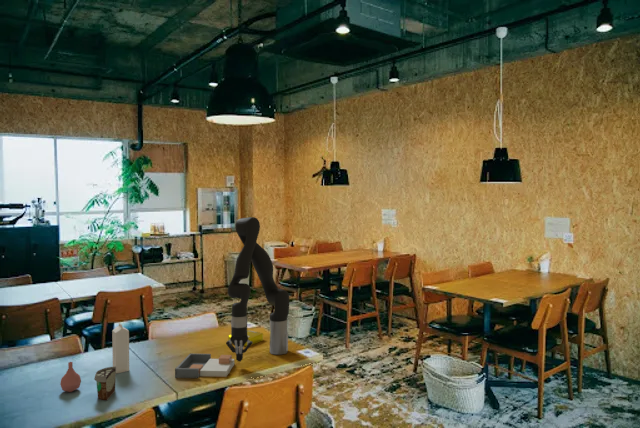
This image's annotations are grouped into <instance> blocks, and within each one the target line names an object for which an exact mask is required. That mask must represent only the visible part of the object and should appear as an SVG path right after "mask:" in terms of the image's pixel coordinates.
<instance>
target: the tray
mask: <svg viewBox="0 0 640 428" xmlns="http://www.w3.org/2000/svg"><path fill="white" fill-rule="evenodd" d="M211 356H212V355H211V353H191V352H190V353H189V354H188V355H187V356H186V357H185V358H184V359H183V360H182V361H181V362H180V363H179V364H178V365H177V366H176V367H175V369H174V378H175V379H177V378H178V379H199V377H201V376H200V374H199V369H195V368H190V367H191V365H192V364H201V365H203V367H204V365H205V364H206V363H207V362H208V360H209V359H212V357H211Z"/></svg>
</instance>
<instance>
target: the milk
mask: <svg viewBox="0 0 640 428" xmlns="http://www.w3.org/2000/svg"><path fill="white" fill-rule="evenodd" d="M111 332H112V333H111V334H112V338H111V339H112V341H111V342H112V344H111V345H112V347H111V348H112V367H116V374H120V373H124V372H129V371H130V331H129V329H127V328H126V327H124V326H123V324H122V323H120V322H118V325H117V326H116V327H115V328H113V329H112V331H111Z"/></svg>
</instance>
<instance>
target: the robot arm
mask: <svg viewBox="0 0 640 428" xmlns="http://www.w3.org/2000/svg"><path fill="white" fill-rule="evenodd" d="M234 227H235V231H236V234H237V235H238V238H239V239H240V241H241V243H242V245H243V246H242V248H241V251H239V254H238V256H237V257H236V260H235V266H234V273H233V276H232V277H231V280H230V283H229V284H228V288H227V295H228V296H229V297H230V298H232V299H240V301H238V302H234V303H232V305H231V321H230V322H231V323H230V329H231V330H230V332H231V333H230V334H231V338H230V340H229V341H228V340H226V342H225V344H226V346H227V348H229V350H230V351H231V352H232V353H235V358H236V359H235V361H237V362H238V363H239V362H242V360H243V357H244V355H243V354H244V353H246V352H247V351H248V350H249V349H250V347H251V346H253V345H252V343H253V342H252V341H250V340H249V339H248V336H247V330H248V315H247V314H248V311H247V310H248V309H247V308H248V304H249V303H248V302H249V299H250V296H251V290H252V289H251V287H250V285H249V284H248V283H241V281H242V280H247V279H248V278H249V276H250V272H251V271H250V269H251V264H252V267H253V268H254V270H255V272H256V274H257V277H258V279H259V281H260V283H261V286H262V288H263V291H264V295H265V297H266V300H267V303H268V304H270V305H271V306H273V307H274V312H271V313H270V314H269V353H270V354H271V355H275V356H276V355H277V356H279V355H286V354H288V350H289V334H288V316H289V314H290V294H289V292H288V291H287V290H286V289H281V288H279V287H278V286H277V284H276V282H275V280H274V264H273V261H272V259H271V257H270V255H269V254H268V252H267V251H266V250H265V249H264V248H263V247H262V246H261V245H260V244H259V243H258V237H259V234H260V229H261V223H260V220H258V218H256V217H255V216H254V217H253V216H251V217H242V218H239V219H237V220H236V222H235V225H234ZM246 342H247V346H244V345H245V343H246ZM232 343H233V344H232ZM244 347H245V348H244Z"/></svg>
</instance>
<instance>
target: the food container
mask: <svg viewBox="0 0 640 428" xmlns="http://www.w3.org/2000/svg"><path fill="white" fill-rule="evenodd" d="M116 374H117V373H116V367H113V366H109V367H105V368H101V369H99V370H97V371H96V372H95V375H94V379H93V380H94V381H95V382H96V392H97V399H98V400H100V401H108V400H109V399H110V398H111V397H112V396H113V394H114V393H115V392H116V376H117V375H116Z"/></svg>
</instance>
